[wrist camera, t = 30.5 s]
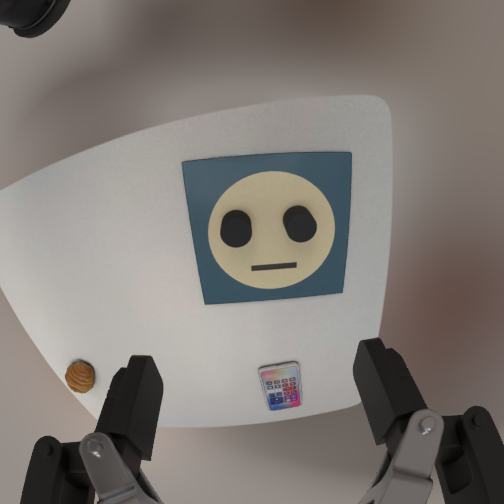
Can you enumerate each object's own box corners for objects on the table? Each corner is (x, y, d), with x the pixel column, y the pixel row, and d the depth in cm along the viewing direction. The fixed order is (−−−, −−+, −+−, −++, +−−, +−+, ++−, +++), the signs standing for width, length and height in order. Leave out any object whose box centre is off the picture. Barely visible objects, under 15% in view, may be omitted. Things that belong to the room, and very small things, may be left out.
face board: (182, 161, 32) (181, 162, 31) (350, 152, 32) (352, 152, 31) (205, 302, 41) (204, 305, 40) (341, 290, 41) (343, 293, 40)
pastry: (72, 352, 46) (66, 366, 43) (101, 369, 48) (95, 383, 45) (66, 372, 49) (61, 385, 46) (92, 387, 51) (87, 400, 48)
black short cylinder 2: (282, 205, 34) (285, 214, 31) (311, 204, 34) (317, 212, 31) (283, 233, 36) (286, 243, 33) (311, 231, 36) (316, 241, 33)
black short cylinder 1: (220, 210, 34) (218, 219, 31) (250, 208, 34) (251, 217, 31) (223, 238, 36) (221, 249, 33) (252, 236, 36) (253, 246, 33)
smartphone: (299, 363, 46) (302, 406, 53) (298, 359, 47) (302, 402, 54) (256, 371, 46) (268, 412, 53) (256, 366, 47) (267, 408, 54)
